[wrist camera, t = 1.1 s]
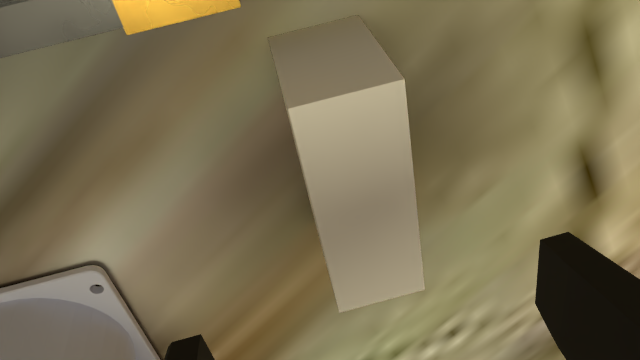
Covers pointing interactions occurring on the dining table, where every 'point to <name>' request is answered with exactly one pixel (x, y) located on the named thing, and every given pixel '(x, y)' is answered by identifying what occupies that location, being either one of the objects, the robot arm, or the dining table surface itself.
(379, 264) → the tall cream block
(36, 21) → the rack
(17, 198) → the dining table surface
